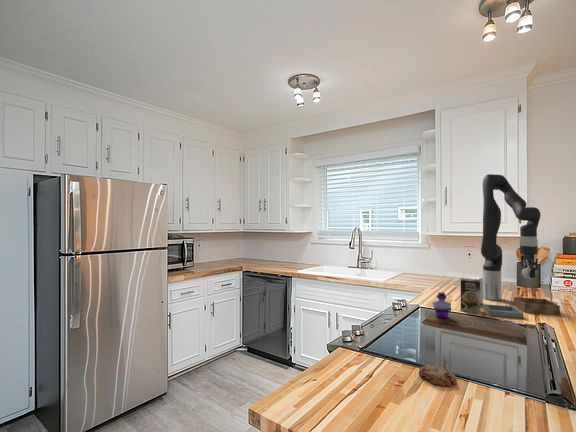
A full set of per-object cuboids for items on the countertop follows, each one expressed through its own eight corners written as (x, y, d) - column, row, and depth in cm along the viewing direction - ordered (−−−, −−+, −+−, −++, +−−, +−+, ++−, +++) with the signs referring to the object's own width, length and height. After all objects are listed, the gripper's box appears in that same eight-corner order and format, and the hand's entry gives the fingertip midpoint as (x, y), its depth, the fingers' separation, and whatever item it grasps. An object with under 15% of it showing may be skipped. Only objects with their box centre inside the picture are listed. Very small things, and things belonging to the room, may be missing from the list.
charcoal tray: (491, 316, 158) (491, 311, 158) (483, 309, 171) (483, 304, 171) (523, 318, 154) (523, 313, 154) (513, 311, 167) (512, 306, 167)
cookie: (424, 368, 103) (424, 359, 103) (460, 378, 96) (460, 368, 96) (413, 380, 95) (413, 370, 95) (452, 392, 88) (452, 381, 88)
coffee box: (460, 311, 168) (460, 280, 168) (460, 308, 173) (460, 278, 174) (480, 313, 163) (480, 281, 164) (480, 310, 169) (479, 279, 170)
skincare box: (472, 301, 188) (471, 276, 188) (483, 303, 183) (483, 277, 183) (466, 303, 182) (465, 277, 183) (477, 305, 178) (477, 279, 178)
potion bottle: (454, 320, 152) (453, 294, 152) (434, 319, 154) (434, 294, 154) (449, 315, 160) (448, 291, 161) (430, 314, 162) (430, 290, 162)
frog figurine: (531, 281, 164) (531, 267, 164) (518, 278, 171) (518, 265, 171) (540, 280, 166) (540, 267, 166) (527, 278, 172) (526, 265, 173)
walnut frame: (524, 312, 164) (524, 303, 164) (513, 305, 178) (513, 297, 178) (560, 314, 160) (559, 305, 160) (546, 307, 174) (545, 299, 174)
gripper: (515, 244, 176) (515, 274, 176) (526, 245, 163) (527, 278, 162) (531, 244, 174) (531, 274, 174) (543, 246, 161) (544, 279, 160)
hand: (529, 276), depth 168 cm, fingers closed on frog figurine, 6 cm apart
